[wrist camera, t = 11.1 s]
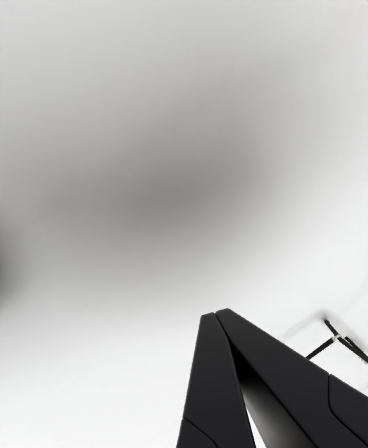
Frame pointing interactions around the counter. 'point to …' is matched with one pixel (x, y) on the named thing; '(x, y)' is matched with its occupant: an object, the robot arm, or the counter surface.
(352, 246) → the counter surface
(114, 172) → the counter surface
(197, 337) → the robot arm
